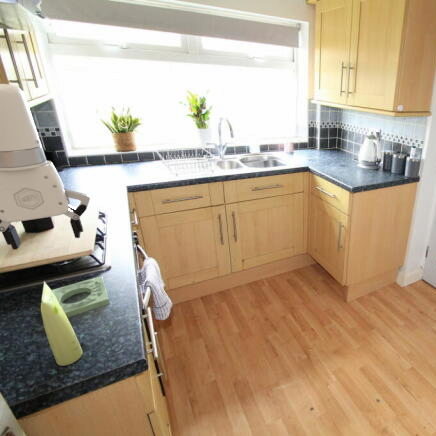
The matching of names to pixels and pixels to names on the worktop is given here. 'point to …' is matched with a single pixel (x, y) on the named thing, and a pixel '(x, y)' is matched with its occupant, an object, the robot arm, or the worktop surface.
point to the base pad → (89, 303)
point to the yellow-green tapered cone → (59, 330)
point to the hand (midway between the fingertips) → (48, 240)
